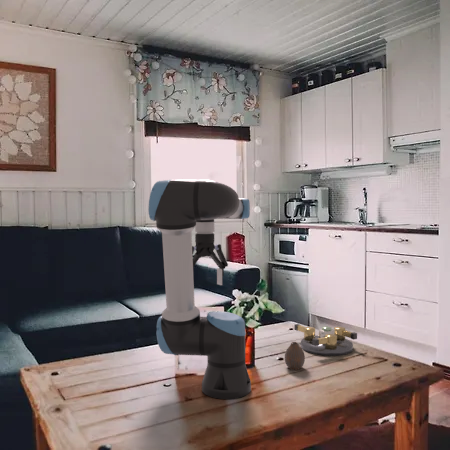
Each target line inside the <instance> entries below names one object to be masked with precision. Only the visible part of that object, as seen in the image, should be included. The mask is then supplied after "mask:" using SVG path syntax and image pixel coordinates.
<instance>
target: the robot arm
mask: <svg viewBox="0 0 450 450" xmlns="http://www.w3.org/2000/svg"><path fill="white" fill-rule="evenodd" d="M250 204H251V201H250V199H249V198H247V197H246V198H243V197H239V195H238V192H237V191H236V190H235V189H233V188H232V187H231V186H229V185H227V184H225V183H222V182H218V181H215V180H210V179H165V180H164V179H163V180H158V181H156V182H155V183H154V184H153V186H152V187H151V191H150V194H149V199H148V216H149V219H150V220H151V221H153V222H155V224H156V227H155V228H156V229H157V230H158V231H159V232H161V238H162V239H161V240H162V253H163V269H164V272H163V273H164V285H165V289H164V290H165V303H166V305H165V306H166V308H164V310H163V311H162V313H161V315H160V316H159V317H158V319H157V322H156V333H155V334H156V340H157V345H158V347H159V349H160V351H161V352H162V353H164V354H165V355H166V354H167V355H174V356H199V357H200V356H201V357H202V356H203V357H204V356H206V358H207V365H206V369H205V372H204V375H203V378H202V382H201V391H202V393H203V394H204V395H206V396H208V397H210V398H214V399H220V400H234V399H239V398H242V397H245V396H247V395H249V394H250V393H251V392H252V380H251V378H250V374H249V372H248V368H247V366H246V334H247V332H246V322H245V319H244V318H243V317H241V316H240V315H238V314H236V313H232V312H229V311H223V310H222V311H220V310H218V311H210V312H207V315H206V316H201V311H200V309H199V308H198V307H197V306H196V305H195V286H194V285H195V284H194V283H195V282H194V267H195V266H196V264H197V262H198V261H199V259H201V258H203V257H210V259H212V261H213V262H214V263H215V265H216V266H217V268H216V285H219V286H223V277H224V275H225V273H224V271H225V269H226V268H227V267H229V264H228V261H227V260H226V256H225V254H224V252H223V250H222V245H221V244H219V243H215V233H214V232H215V220H219V219H221V220H223V219H224V220H225V219H227V220H228V219H231V220H243V219H244V220H245V219H246V220H247V219H249V218H250V211H251V205H250ZM193 230H195V235H194V237H195V238H194V239H195V241H194V242H195V246H193V243H192V242H193V239H192V236H193V235H192V231H193ZM214 250H215V252H214Z"/></svg>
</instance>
